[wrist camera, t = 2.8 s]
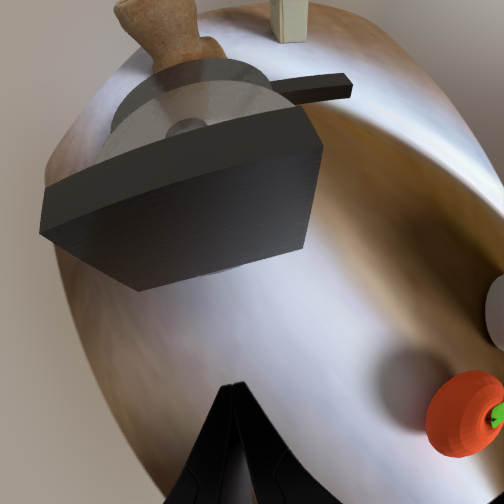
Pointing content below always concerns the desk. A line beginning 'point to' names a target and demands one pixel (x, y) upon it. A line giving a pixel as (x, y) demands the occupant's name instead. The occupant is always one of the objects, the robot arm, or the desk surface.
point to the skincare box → (289, 20)
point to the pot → (232, 70)
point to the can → (496, 312)
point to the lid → (191, 187)
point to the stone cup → (166, 31)
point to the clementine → (465, 414)
